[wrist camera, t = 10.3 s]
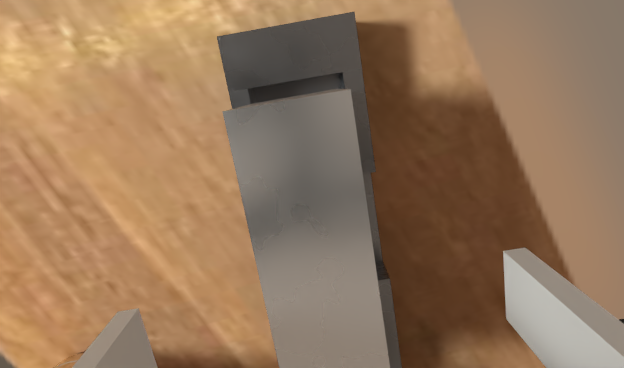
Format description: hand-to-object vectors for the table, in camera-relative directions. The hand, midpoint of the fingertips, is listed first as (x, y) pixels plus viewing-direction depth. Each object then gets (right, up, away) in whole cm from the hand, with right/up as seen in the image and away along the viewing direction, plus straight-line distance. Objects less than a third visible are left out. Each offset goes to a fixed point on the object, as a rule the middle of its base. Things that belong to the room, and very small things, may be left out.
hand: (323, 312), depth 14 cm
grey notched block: (0, +2, +11) cm, 11 cm away
